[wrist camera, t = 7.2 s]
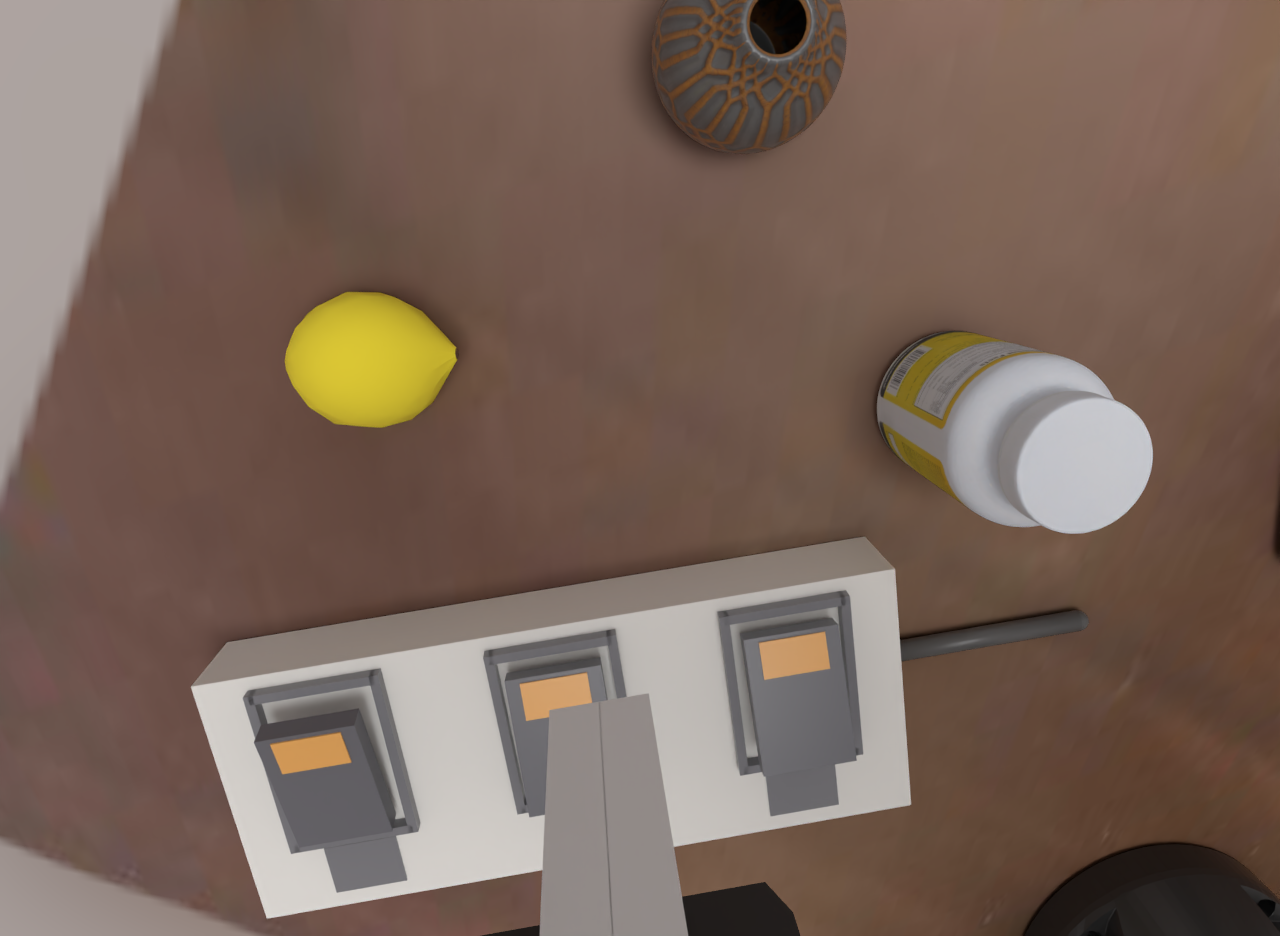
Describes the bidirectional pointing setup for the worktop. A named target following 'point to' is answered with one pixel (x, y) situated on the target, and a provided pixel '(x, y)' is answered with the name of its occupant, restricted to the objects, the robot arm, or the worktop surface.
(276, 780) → the rocker
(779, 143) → the vase
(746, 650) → the rocker
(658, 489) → the worktop surface
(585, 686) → the dark grey flat block
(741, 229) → the worktop surface
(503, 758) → the rocker switch box
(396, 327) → the lemon
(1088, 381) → the pill bottle
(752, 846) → the worktop surface
